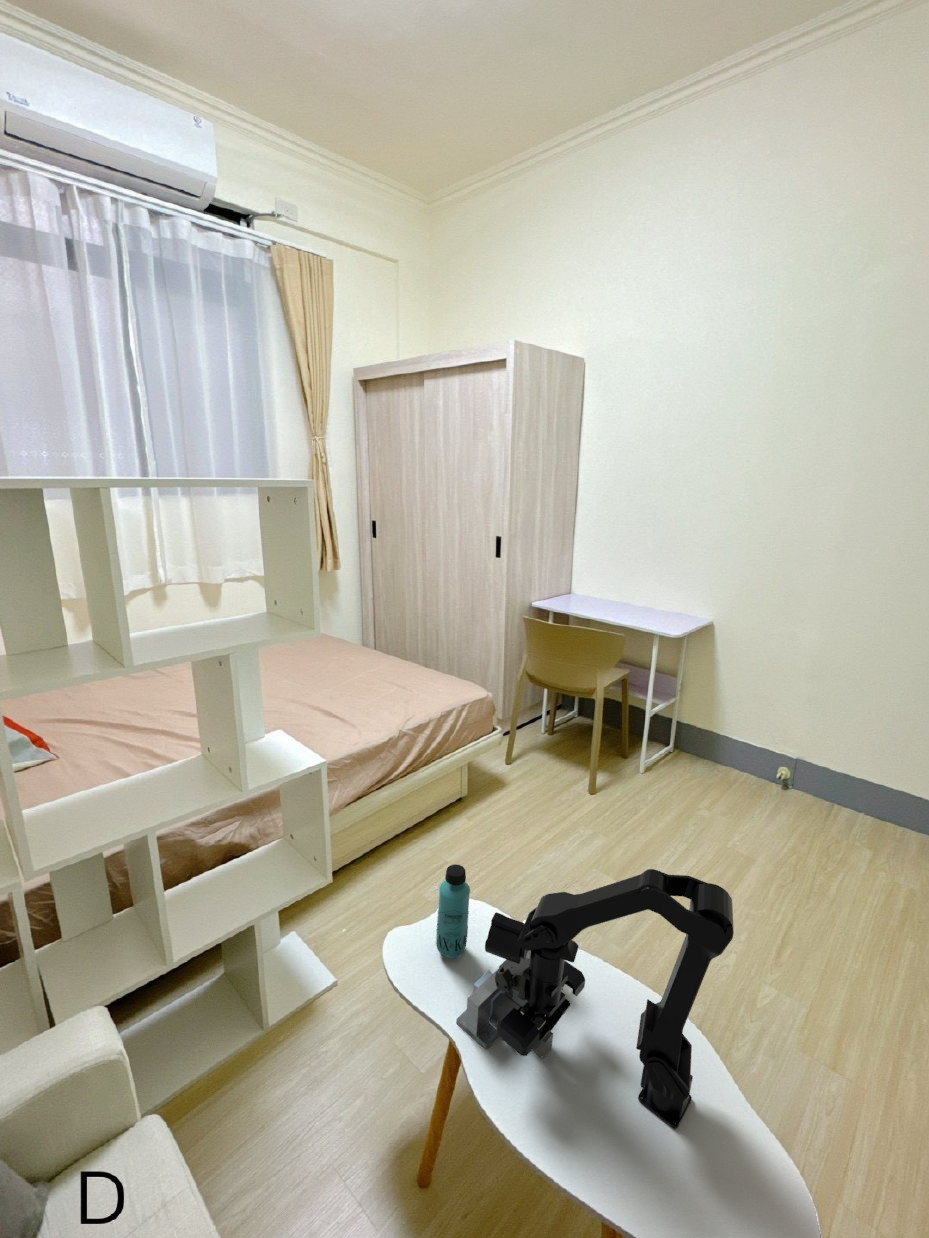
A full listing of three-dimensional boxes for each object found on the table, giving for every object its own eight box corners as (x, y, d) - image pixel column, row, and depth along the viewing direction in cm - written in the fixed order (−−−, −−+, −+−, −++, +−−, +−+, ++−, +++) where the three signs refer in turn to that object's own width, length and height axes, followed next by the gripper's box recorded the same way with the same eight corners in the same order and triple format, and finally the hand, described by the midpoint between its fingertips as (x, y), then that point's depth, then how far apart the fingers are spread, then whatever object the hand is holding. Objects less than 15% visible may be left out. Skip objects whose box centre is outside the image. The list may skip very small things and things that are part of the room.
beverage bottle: (432, 942, 122) (435, 861, 117) (461, 936, 124) (466, 856, 119) (439, 967, 116) (443, 883, 111) (471, 960, 118) (476, 877, 113)
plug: (554, 1045, 102) (557, 1022, 100) (540, 1062, 98) (542, 1039, 97) (483, 987, 112) (484, 966, 111) (468, 1002, 109) (469, 980, 108)
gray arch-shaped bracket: (532, 998, 110) (535, 966, 109) (485, 1049, 100) (488, 1014, 98) (504, 976, 115) (506, 945, 113) (456, 1023, 105) (458, 989, 103)
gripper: (538, 914, 109) (532, 981, 113) (473, 973, 96) (469, 1046, 99) (590, 947, 102) (581, 1017, 106) (528, 1016, 88) (521, 1094, 92)
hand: (538, 1041), depth 101 cm, fingers closed on plug, 2 cm apart
